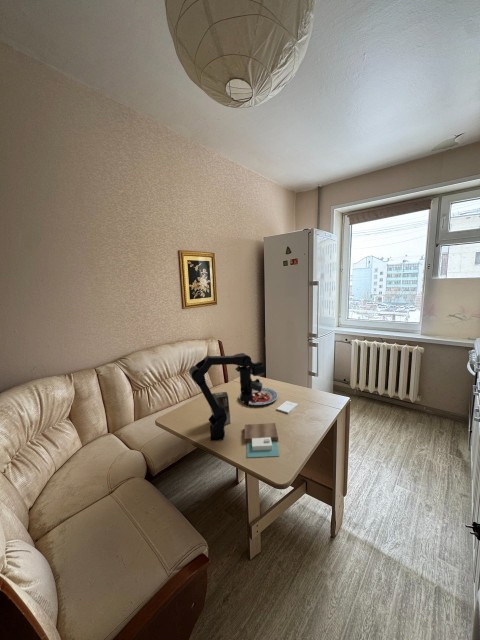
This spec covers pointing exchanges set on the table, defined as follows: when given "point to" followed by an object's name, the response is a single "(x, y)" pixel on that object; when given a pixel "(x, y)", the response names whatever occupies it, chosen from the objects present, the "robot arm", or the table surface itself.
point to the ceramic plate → (263, 396)
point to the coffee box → (223, 403)
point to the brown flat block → (260, 432)
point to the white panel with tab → (261, 443)
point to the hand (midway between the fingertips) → (247, 406)
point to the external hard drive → (287, 407)
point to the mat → (262, 451)
